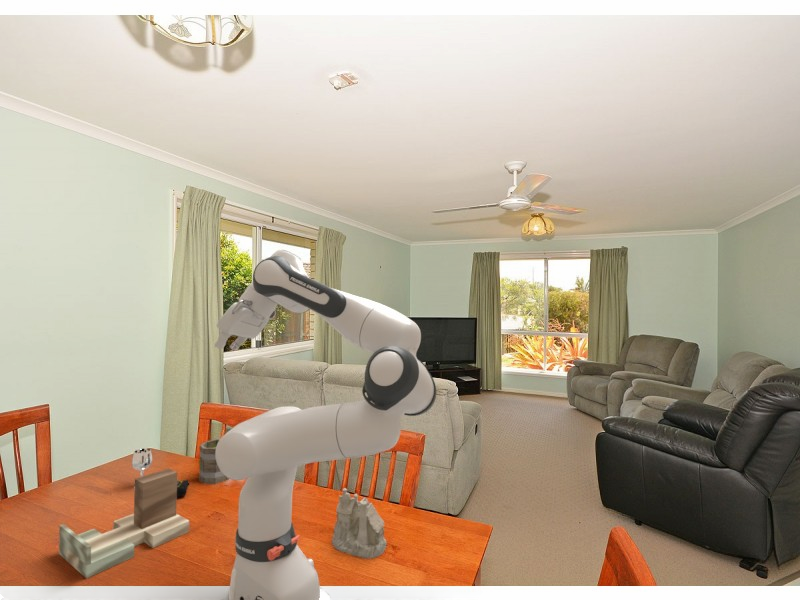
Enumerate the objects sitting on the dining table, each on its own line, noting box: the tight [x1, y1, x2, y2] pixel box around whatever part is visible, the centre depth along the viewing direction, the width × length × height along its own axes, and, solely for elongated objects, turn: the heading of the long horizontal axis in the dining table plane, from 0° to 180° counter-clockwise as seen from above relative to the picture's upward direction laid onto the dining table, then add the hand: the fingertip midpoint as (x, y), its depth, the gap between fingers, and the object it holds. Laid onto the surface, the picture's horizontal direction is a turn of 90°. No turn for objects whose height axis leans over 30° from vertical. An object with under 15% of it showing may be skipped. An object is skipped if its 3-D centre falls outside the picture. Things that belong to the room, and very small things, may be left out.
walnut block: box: [133, 468, 178, 529], centre depth 116 cm, size 4×9×12 cm, turn 146°
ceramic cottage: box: [331, 487, 388, 560], centre depth 115 cm, size 16×16×15 cm
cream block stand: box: [58, 513, 190, 580], centre depth 110 cm, size 16×24×7 cm, turn 146°
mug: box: [198, 438, 230, 485], centre depth 153 cm, size 16×11×12 cm
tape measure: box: [177, 479, 190, 498], centre depth 137 cm, size 7×7×4 cm
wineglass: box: [131, 447, 153, 490], centre depth 143 cm, size 6×6×12 cm
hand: (225, 348), depth 110 cm, fingers open, 8 cm apart
